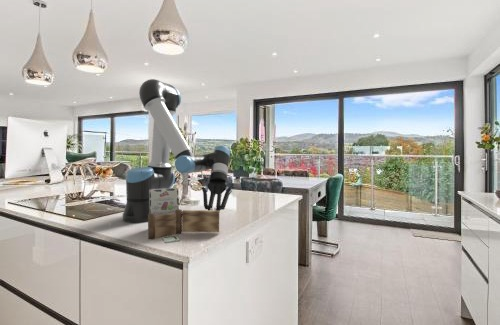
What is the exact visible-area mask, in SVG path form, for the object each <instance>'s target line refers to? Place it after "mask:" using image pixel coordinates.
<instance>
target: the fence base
mask: <svg viewBox="0 0 500 325" xmlns="http://www.w3.org/2000/svg"><path fill="white" fill-rule="evenodd" d="M182 211H183V209H180V208H179V209H178V210H175V213H170V214H163V215H156V216H155V213H149V214H148V221H147V225H148V226H147V228H148V229H147V236H148V240H151V241H152V240H155V239H162V237H166V236H173V235H176V236H177V235H181V234H182V233H183V232H182Z"/></svg>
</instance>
